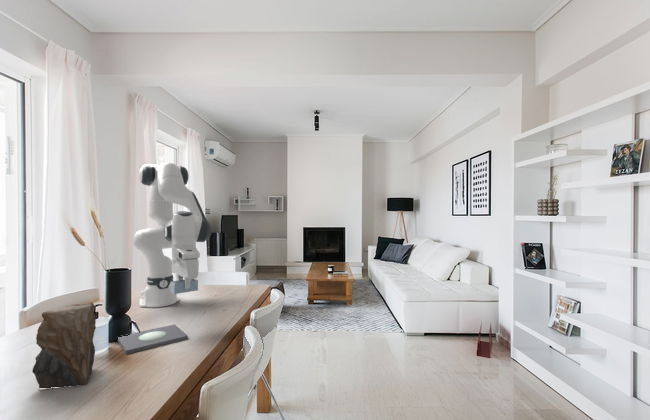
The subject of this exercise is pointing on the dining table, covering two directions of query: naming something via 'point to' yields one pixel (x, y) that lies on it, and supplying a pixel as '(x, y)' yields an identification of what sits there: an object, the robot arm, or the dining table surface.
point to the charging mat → (151, 338)
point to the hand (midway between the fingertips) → (184, 287)
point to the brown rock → (65, 346)
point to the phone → (178, 286)
